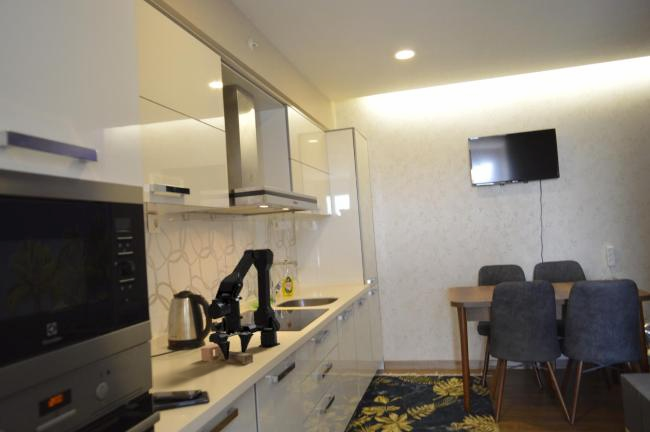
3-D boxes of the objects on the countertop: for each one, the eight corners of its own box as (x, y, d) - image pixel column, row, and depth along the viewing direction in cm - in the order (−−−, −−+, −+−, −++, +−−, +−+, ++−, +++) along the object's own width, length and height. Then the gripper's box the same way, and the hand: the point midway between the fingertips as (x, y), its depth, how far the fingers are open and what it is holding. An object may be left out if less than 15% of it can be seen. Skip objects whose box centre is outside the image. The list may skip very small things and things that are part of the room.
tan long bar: (253, 362, 170) (252, 353, 170) (247, 364, 167) (246, 355, 167) (224, 358, 178) (224, 350, 178) (218, 360, 176) (217, 352, 176)
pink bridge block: (218, 354, 184) (217, 342, 184) (226, 356, 181) (226, 343, 181) (201, 360, 178) (200, 347, 178) (210, 361, 175) (209, 348, 175)
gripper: (235, 308, 186) (238, 348, 185) (197, 317, 170) (200, 361, 170) (256, 309, 179) (259, 351, 178) (218, 319, 164) (221, 364, 163)
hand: (235, 356), depth 173 cm, fingers open, 8 cm apart
